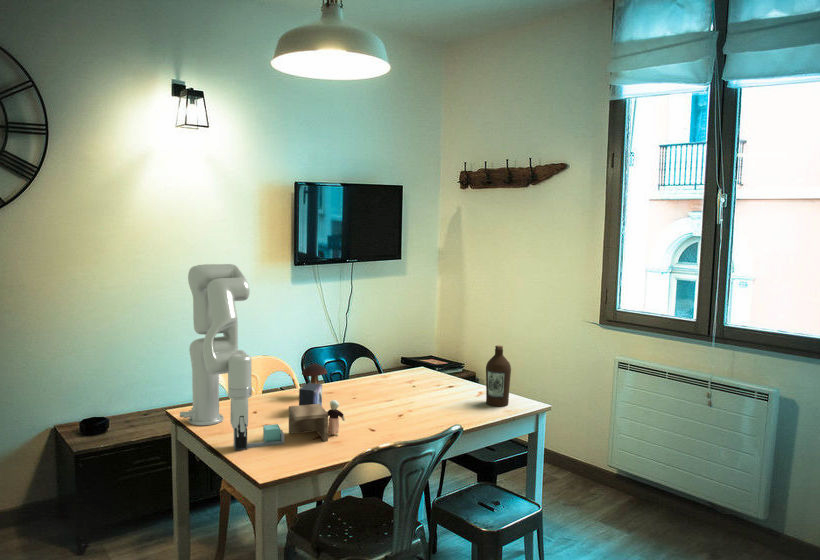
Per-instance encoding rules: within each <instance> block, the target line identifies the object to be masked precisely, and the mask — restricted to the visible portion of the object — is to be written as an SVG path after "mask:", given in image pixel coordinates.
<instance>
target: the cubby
mask: <svg viewBox="0 0 820 560" xmlns="http://www.w3.org/2000/svg"><path fill="white" fill-rule="evenodd" d="M327 412H328V411H326V410H325V408H323V405H322V406H321V405H320V404H311V405H299V404H298V405H289V406H288V434H289V435H290V434H292V435H293V434H300V433H310V432H317V433H318V435H319V436H320V437H321V439H322V440H323V441H324V442H328V441H329V436H328V424H329V416H328V413H327Z"/></svg>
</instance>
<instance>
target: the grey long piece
mask: <svg viewBox="0 0 820 560" xmlns="http://www.w3.org/2000/svg"><path fill="white" fill-rule="evenodd" d="M238 427H240V426H238ZM239 430H240V429H239ZM245 433H246V448H240V449H236V437H237V429H236V428H235V429H233V449H234V452H236V451H245V450H246V451H247V450H248V449H249V448H250V449H251V448H261V447H270V446H279V445H285V433H284V430H282V429H280V440H274V441H265V442H264V441H258V442H257V441H256V442H248V427H247V428H246V427H245Z"/></svg>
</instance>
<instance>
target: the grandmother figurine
mask: <svg viewBox="0 0 820 560" xmlns="http://www.w3.org/2000/svg"><path fill="white" fill-rule="evenodd" d="M329 405H330V409H329V410H327V411H326V412H327V413H328V437H329V436H332V435H333V437H337V436H339V430H340V429H339V428H340V419H339V417H340V418H341V420H342V421H346V418H345V415H344V414H343V412H342V411H340V410H338V408H339V407H340V403H339V401H337V400H336V399H331V401H330V403H329Z"/></svg>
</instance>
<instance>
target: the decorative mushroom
mask: <svg viewBox="0 0 820 560" xmlns="http://www.w3.org/2000/svg"><path fill="white" fill-rule="evenodd" d="M327 374H328V371H327V369H326V368H325V367H324V366H322V365H321V364H319V363H315V362H314V363H311V364H309V365H307V366H306V367H305V368H304V369H303V370H302V372H301V375H302V376H304V377H310V380H309V383H315V384H320V382H319V381H320V380H319V377H320V376H323V375H327Z"/></svg>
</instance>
